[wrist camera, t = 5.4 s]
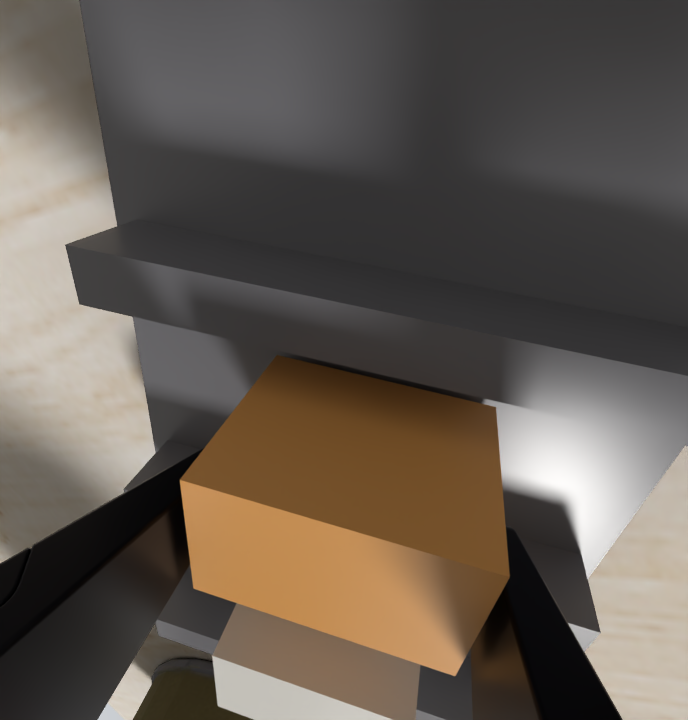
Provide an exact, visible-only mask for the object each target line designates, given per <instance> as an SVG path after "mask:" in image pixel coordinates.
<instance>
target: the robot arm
mask: <svg viewBox="0 0 688 720" xmlns="http://www.w3.org/2000/svg"><path fill="white" fill-rule="evenodd" d="M205 447H206V446H205ZM205 447H204V448H205ZM204 448H202V449H200V450H198V451H197V452H195V453H193V454H191V455H190V456H188V457H186V458H184V459H183V460H181V461H179V462H177V463H176V464H174V465H172V466H170V467H169V468H167V469H165V470H163V471H162V472H160V473H158V474H156V475H155V476H153V477H151V478H149V479H148V480H146V481H144V482H142V483H141V484H139V485H137V486H135V487H134V488H132V489H130V490H128V491H127V492H125V493H123V494H121V495H120V496H118V497H116V498H114V499H113V500H111V501H109V502H107V503H106V504H104V505H102V506H100V507H99V508H97V509H95V510H93V511H92V512H90V513H88V514H86V515H85V516H83V517H81V518H79V519H78V520H76V521H74V522H72V523H71V524H69V525H67V526H65V527H64V528H62V529H60V530H58V531H57V532H55V533H53V534H51V535H50V536H48V537H46V538H44V539H43V540H41V541H39V542H37V543H36V544H34V545H33V546H32V548H27V549H25V550H23V551H21V552H20V553H18V554H16V555H14V556H13V557H11V558H9V559H7V560H6V561H4V562H2V563H0V720H97V719H98V718H99V716H100V714H101V713H102V711H103V709H104V708H105V706H106V704H107V703H108V701H109V699H110V698H111V696H112V694H113V693H114V691H115V689H116V688H117V686H118V684H119V683H120V681H121V679H122V678H123V676H124V674H125V673H126V671H127V669H128V668H129V666H130V664H131V663H132V661H133V659H134V658H135V656H136V654H137V652H138V651H139V649H140V647H141V646H142V644H143V642H144V641H145V639H146V637H147V636H148V634H149V632H150V631H151V629H152V627H153V626H154V624H155V622H156V621H157V619H158V617H159V616H160V614H161V612H162V611H163V609H164V607H165V606H166V604H167V602H168V601H169V599H170V597H171V596H172V594H173V592H174V591H175V589H176V587H177V586H178V584H179V582H180V581H181V579H182V577H183V576H184V574H185V572H186V571H187V569H188V567H189V566H190V557H189V549H188V541H187V534H186V526H185V518H184V510H183V502H182V494H181V486H180V479H181V478H182V476H183V475H184V474H185V472H186V471H187V470H188V469H189V467H190V466H191V465H192V463H193V462H194V461H195V460H196V458H197V457H198V456H199V454H200V453H201V452H202V451H203V449H204ZM506 537H507V549H508V561H509V574H510V578H509V580H508V581H507V583H506V585H505V587H504V589H503V590H502V592H501V594H500V596H499V598H498V600H497V601H496V603H495V605H494V607H493V609H492V610H491V612H490V614H489V616H488V618H487V619H486V621H485V623H484V625H483V627H482V629H481V630H480V632H479V634H478V636H477V638H476V639H475V641H474V643H473V645H472V647H471V686H472V717H473V720H622V718H621V716H620V714H619V712H618V711H617V709H616V707H615V705H614V704H613V702H612V700H611V698H610V697H609V695H608V693H607V691H606V689H605V688H604V686H603V684H602V682H601V681H600V679H599V677H598V675H597V674H596V672H595V670H594V668H593V666H592V665H591V663H590V661H589V659H588V658H587V656H586V654H585V652H584V651H583V649H582V647H581V645H580V643H579V642H578V640H577V638H576V636H575V635H574V633H573V631H572V629H571V628H570V626H569V624H568V622H567V621H566V619H565V617H564V615H563V613H562V612H561V610H560V608H559V606H558V605H557V603H556V601H555V599H554V598H553V596H552V594H551V592H550V590H549V589H548V587H547V585H546V583H545V582H544V580H543V578H542V576H541V575H540V573H539V571H538V569H537V567H536V566H535V564H534V562H533V560H532V559H531V557H530V555H529V553H528V552H527V550H526V548H525V546H524V544H523V543H522V541H521V539H520V537H519V536H518V534H517V532H516V531H515V530H514V529H513V528H512V527H509V526H506Z"/></svg>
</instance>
